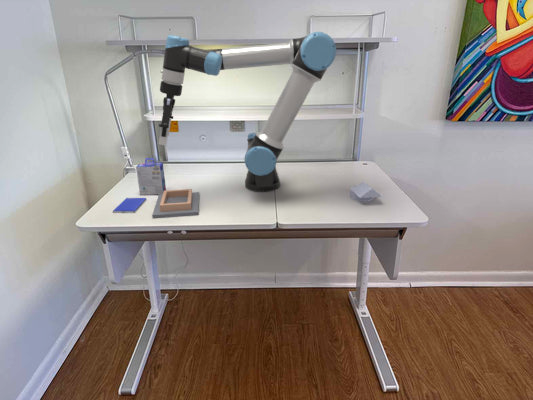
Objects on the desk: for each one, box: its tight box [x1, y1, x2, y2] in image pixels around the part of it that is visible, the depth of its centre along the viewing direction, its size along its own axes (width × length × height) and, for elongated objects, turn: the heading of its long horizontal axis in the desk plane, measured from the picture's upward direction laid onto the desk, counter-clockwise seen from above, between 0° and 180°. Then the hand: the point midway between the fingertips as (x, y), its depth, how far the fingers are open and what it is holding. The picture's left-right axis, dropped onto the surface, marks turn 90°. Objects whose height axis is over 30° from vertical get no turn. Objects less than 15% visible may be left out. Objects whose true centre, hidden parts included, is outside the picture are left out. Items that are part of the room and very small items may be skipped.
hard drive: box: [112, 197, 147, 214], centre depth 138 cm, size 2×8×12 cm
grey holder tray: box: [151, 188, 200, 219], centre depth 138 cm, size 16×20×4 cm
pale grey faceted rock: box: [349, 181, 382, 202], centre depth 141 cm, size 9×7×13 cm
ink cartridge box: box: [135, 157, 167, 196], centre depth 149 cm, size 10×6×14 cm, turn 93°
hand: (163, 139), depth 137 cm, fingers open, 13 cm apart
